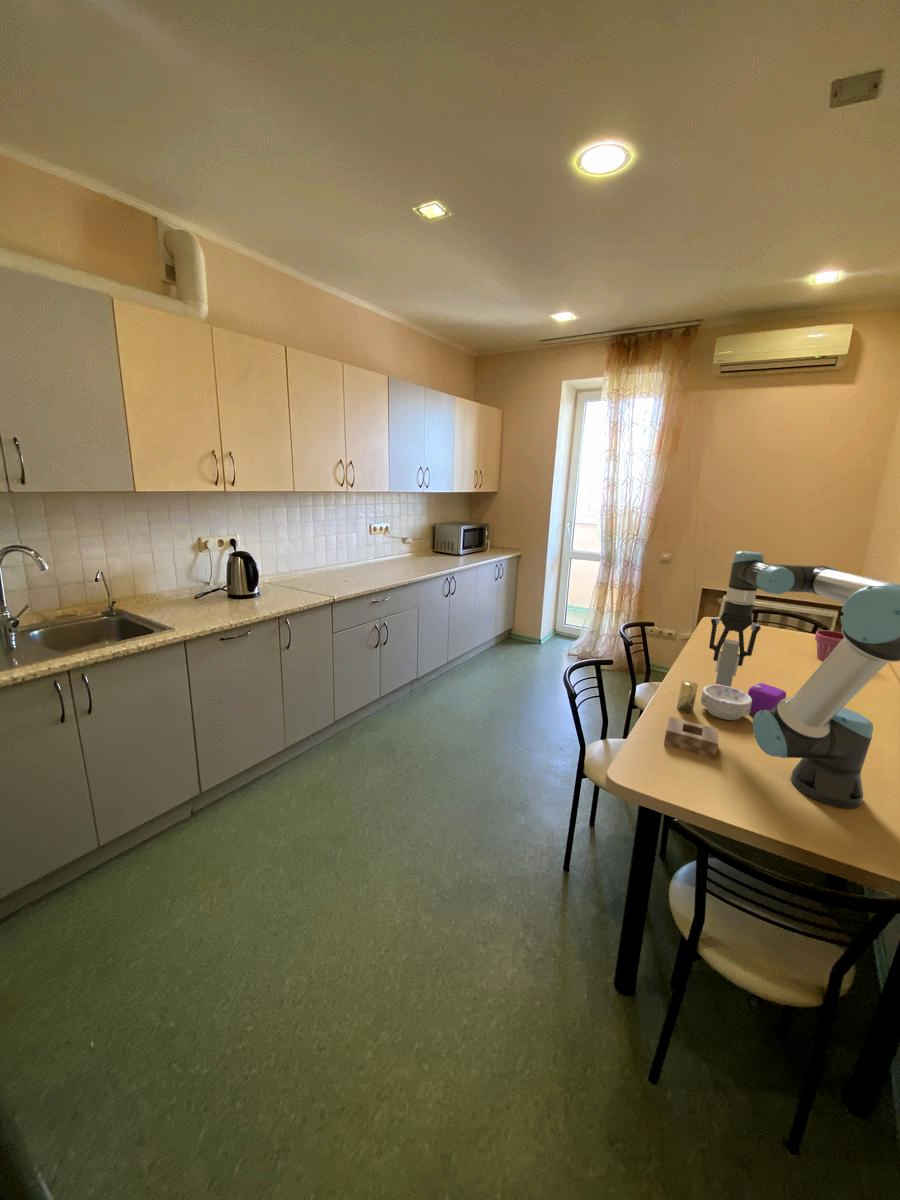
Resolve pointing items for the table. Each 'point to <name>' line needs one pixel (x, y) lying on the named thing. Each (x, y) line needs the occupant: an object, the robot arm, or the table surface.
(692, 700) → the cylinder
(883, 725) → the table surface
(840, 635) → the plant pot
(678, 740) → the bore block
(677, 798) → the table surface
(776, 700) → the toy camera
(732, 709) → the paper bowls
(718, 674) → the square bit
